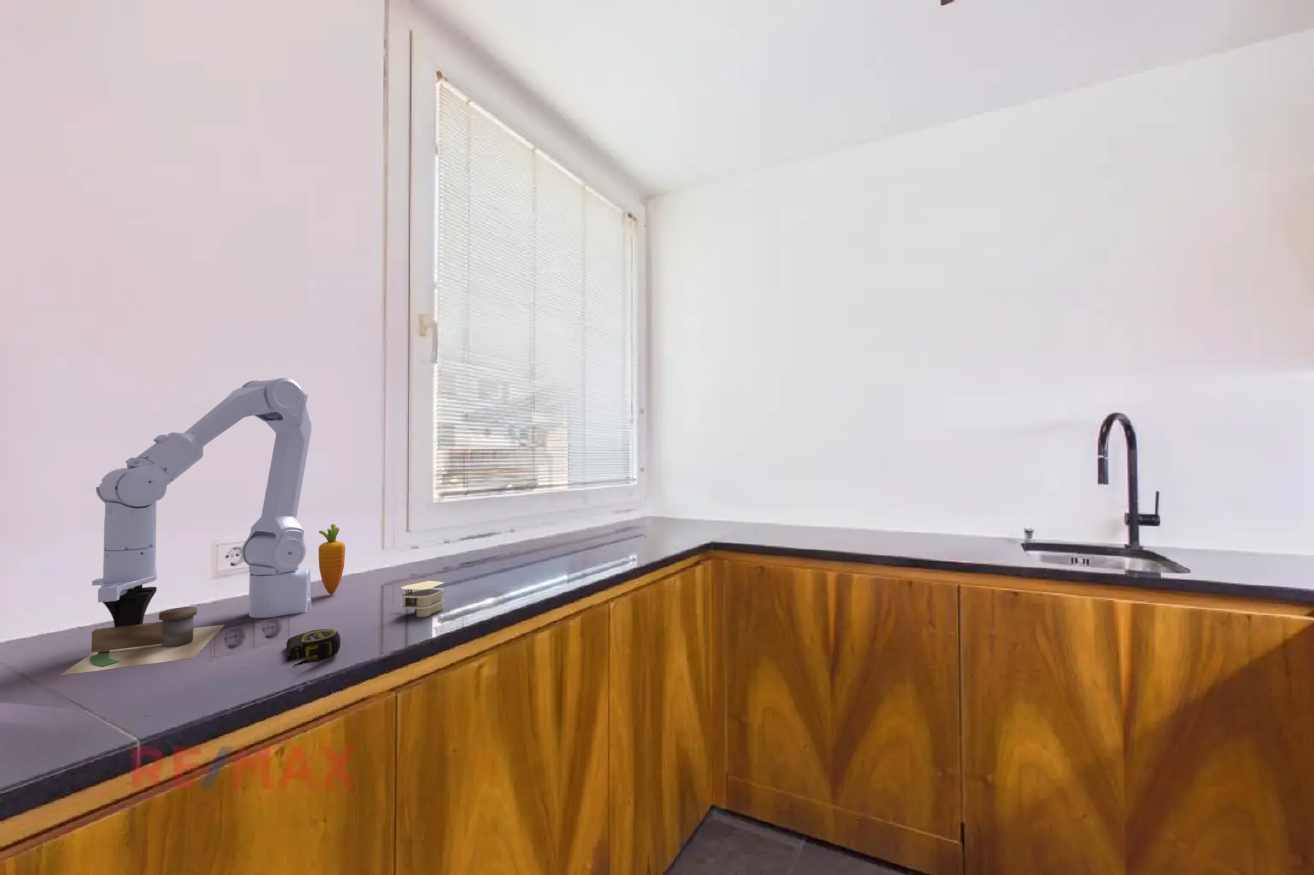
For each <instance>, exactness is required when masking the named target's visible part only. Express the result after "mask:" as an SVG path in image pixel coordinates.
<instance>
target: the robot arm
mask: <svg viewBox="0 0 1314 875" xmlns="http://www.w3.org/2000/svg"><path fill="white" fill-rule="evenodd" d="M308 396H309V395H308V394H307V393H306V391H305V390H304V389H303V388H302V387H301V386H300V385H299V383H298V382H296V381H295V380H294V379H291V378H288V377H279V378H276V379H266V380H250V381H248V382H245V383H244V384H243V385H242V386H241V387H238V388H236V389H234V390H233V391H232V392H230V393H229V395H228V396H226V397H225V398H224V399H223V400H222V401H221V402H220V403H218V404H217V405H216V406H214V408H212V409H211V410H210V411H209V412H208V413H206V414H205V415H204V416H202V417H201V418H200V419H199V420H198V421H196V422H195V423H194V424H193V425H192V426H191V427H189V428H188V429H187V430H186V431H184V432H169V433H168V434H158V435H157V436H156V437H155V438H153V442H155V443H154V444H153V445H151V446H150V447H148V448H147V449H146V450H144V451H143V452H141V454H139V455H137V456H136V457H129V458H128V459H127V460H125V464H126V467H122V468H116V469H113V470H111V471H109V472H108V473H107V474H105V475H104V476H103V477H102V478H101V480H100V481H101V483H99V486H97V487H95V491H96V495H97V497H98V498H99V499H100V500H101V501H102V502H103V503H104V521H103V523H104V524H103V564H102V565H103V566H102V572H103V573H102V577H103V578H102V577H100V578H96V579H94V580H92V581H91V586H100V587H99V588H98V589H97V590H98V591H97V603H103V605H104V606H105V607H106V608H107V610H108V612H109V614H110V615H111V617H112V620H113V625H114V626H113V627H118V626H127V625H136V624H144V618H145V614H146V612H147V608H148V606H149V604H150V603H151V600H152V599H153V597H154V595H155V594H156V593H157V590H158V589H157V586H146V587H143V585H145V584H150V583H152V582H155V581H156V580H157V579H158V573H157V567H156V556H157V554H156V553H157V543H156V542H157V501H160V500H162V499H163V498H164V496H165V494H166V492H167V488H168V487H167V486H168V485H170V484H171V483H172V482H174V481H175V480H177V479H178V478H179V477H180V476H181V475H182V474H184V473H185V472H186V471H187V470H188V469H189V470H190V468H191V467H192V466H193V465H195V464H196V463H198V462H199V461H200V460H201V459H202V458H203V457H204V447H205V446H207V444H208V443H211V442H212V441H213V440H214V439H215V438H217V437H219V436H220V435H221V434H223V433H225V432H226V431H227V430H228V429H230V428H231V427H233V426H234V425H235V424H237V423H238V422H240V421H241V420H243V419H244V418H247V417H252V416H254V417H256V418H258V419H259V420H261V421H263V422H265V423H266V424H267V425H268V426H269V428H271V429H272V431H274V433H275V438H274V445H273V450H272V456H271V461H270V467H269V471H268V472H269V473H268V478H267V484H266V489H265V492H264V493H265V494H264V499H263V505H262V510H261V515H260V517H259V519H258V520H256V521H255V523H254V524H253V525H251V527H250V532H249V534H248V535H249V536H248V537H247V539H246V540H245V541H244V542H243V545H242V547H241V551H240V552H241V553H240V554H241V558H242V561H243V562H244V563H245V564H246V565H248V572H249V576H248V577H249V578H248V579H249V580H248V581H249V584H248V586H249V587H248V616H249V617H250V618H255V619H258V618H259V619H262V618H264V619H265V618H274V617H279V616H286V615H293V614H295V615H296V614H302V613H307V611H308V610H311V607H312V598H311V591H312V590H311V589H312V588H311V582H312V580H311V578H312V577H311V569H310V568H299V566H300V564H302V562H303V561H304V560H305V556H306V553H307V548H306V544H305V540H304V536H305V535H304V534H305V529H304V528H303V526H302V525H301V523H300V522H299V521H298V519H297V517H298V512H299V503H300V499H301V493H302V486H303V480H304V477H305V476H304V475H305V469H306V463H307V458H308V450H309V445H310V441H311V440H310V439H311V434H312V421H311V419H310V415H309V412H308V409H307V401H308Z"/></svg>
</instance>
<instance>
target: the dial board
mask: <svg viewBox="0 0 1314 875" xmlns="http://www.w3.org/2000/svg"><path fill="white" fill-rule="evenodd" d="M224 626H225V624H217V625H211V626H209V625H208V626H202V627H201V626H200V627H193V641H191V642H189V643H186V644H183V645H178V646H170V647H165V646H162V644H156V645H148V646H140V647H132V648H124V649H117V650H109V651H101V652H93V653H92V652H91V653H90V654H88V655H87V656H86V657H84V658H83V659H81V660H80V661H78V662H77V663H75V664H74V665H72V666H71V667H69V668H68V669H66V670H65V671H64V672H62V673H61V674H59V675H58V676H59V677H60V676H68V675H69V676H70V675H76V674H85V673H91V672H100V671H108V670H114V669H122V668H130V667H136V666H137V667H138V666H142V665H143V666H145V665H151V664H161V663H166V662H175V661H182V660H183V661H185V660H189V659H194V658H195V657H196V656H197V655H198V654H199V652H201V651H202V649H203V648H205V646H206V645H207V644H208V643H209V642H210V641H211V640H212V639H213V638H214V637H215V636H216V635H217V634H218V633H219V632H220V631H221V629H222V628H223V627H224Z"/></svg>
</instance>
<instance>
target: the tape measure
mask: <svg viewBox="0 0 1314 875" xmlns="http://www.w3.org/2000/svg"><path fill="white" fill-rule="evenodd" d="M285 644H286V650H287V652H288V655H286V658H287V659H286V662H290V661H294V660H298V659H303V658H306V659H304V660H301V661H299V662H297V663H296V664H293V665H292V667H297V666H301V665H304V664H311V663H312V664H313V663H319V662H323V661H326V660H328V659H331V658H332V657H334V656H336V655H337V654H338V653H339V651H340V649H341V635H340V634H339V632H338V630H335V629H330V628H323V629H314V630H310V631H306V632H303V633H300V634H296V635H294V636H292V637H289V638H288V639H287V640H286V643H285ZM307 657H308V658H307Z"/></svg>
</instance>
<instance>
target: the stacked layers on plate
mask: <svg viewBox="0 0 1314 875" xmlns="http://www.w3.org/2000/svg"><path fill="white" fill-rule="evenodd" d="M444 583H446V582H445V581H444V582H443V581H434V580H426V581H422V582H416V583H413V584H406V585H404V586H401V587H400V588H401V589H402V590H405V592H403V593H401V594H400V596H401V598H403V600H402V601H403V603H402V604H400V607H401V609H402V610H403V609H404V610H406V609H407V610H408V609H409V610H412V609H414V613H415V614H416V617H418V618H425V617H429V616H431V615H432V614H433V613H436V612H439V611H441V610H443V602H445V599H444V598H443V592H444V591H445V588H441V587H440V588H439V587H438V586H439V585H442V584H444Z"/></svg>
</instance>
